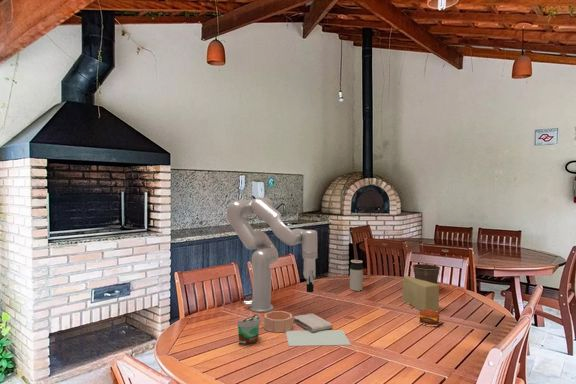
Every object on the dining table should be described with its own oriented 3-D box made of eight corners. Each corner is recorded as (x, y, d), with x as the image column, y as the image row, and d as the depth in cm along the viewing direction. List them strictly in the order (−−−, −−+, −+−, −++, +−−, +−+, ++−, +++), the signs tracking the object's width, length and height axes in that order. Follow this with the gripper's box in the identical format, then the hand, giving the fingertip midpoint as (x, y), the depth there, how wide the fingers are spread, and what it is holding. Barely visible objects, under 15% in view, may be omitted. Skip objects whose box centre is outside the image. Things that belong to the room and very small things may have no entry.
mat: (288, 346, 164) (288, 345, 164) (285, 331, 180) (285, 330, 180) (351, 345, 166) (351, 344, 166) (342, 330, 182) (342, 330, 182)
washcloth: (311, 317, 198) (311, 311, 198) (333, 329, 183) (333, 322, 183) (291, 321, 192) (291, 314, 192) (312, 333, 177) (312, 326, 177)
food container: (248, 349, 160) (249, 324, 160) (236, 345, 164) (237, 321, 163) (266, 338, 171) (266, 315, 171) (254, 335, 174) (255, 312, 174)
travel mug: (362, 291, 246) (363, 262, 246) (349, 290, 248) (350, 261, 247) (362, 288, 254) (363, 260, 253) (349, 287, 255) (350, 259, 255)
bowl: (264, 333, 177) (264, 320, 177) (263, 322, 190) (263, 311, 190) (293, 332, 178) (293, 320, 178) (290, 322, 191) (291, 310, 191)
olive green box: (396, 302, 226) (397, 275, 226) (409, 300, 231) (410, 274, 230) (425, 314, 206) (426, 285, 206) (439, 312, 211) (440, 283, 210)
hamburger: (437, 328, 186) (437, 314, 186) (416, 324, 192) (416, 311, 191) (441, 322, 194) (442, 309, 194) (421, 319, 200) (421, 305, 199)
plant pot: (409, 288, 257) (410, 263, 256) (436, 289, 255) (436, 264, 254) (414, 295, 241) (415, 268, 240) (442, 296, 238) (443, 269, 238)
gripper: (300, 252, 206) (300, 288, 206) (304, 257, 191) (304, 296, 191) (314, 252, 206) (315, 287, 207) (319, 257, 192) (320, 295, 192)
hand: (310, 291), depth 199 cm, fingers closed
